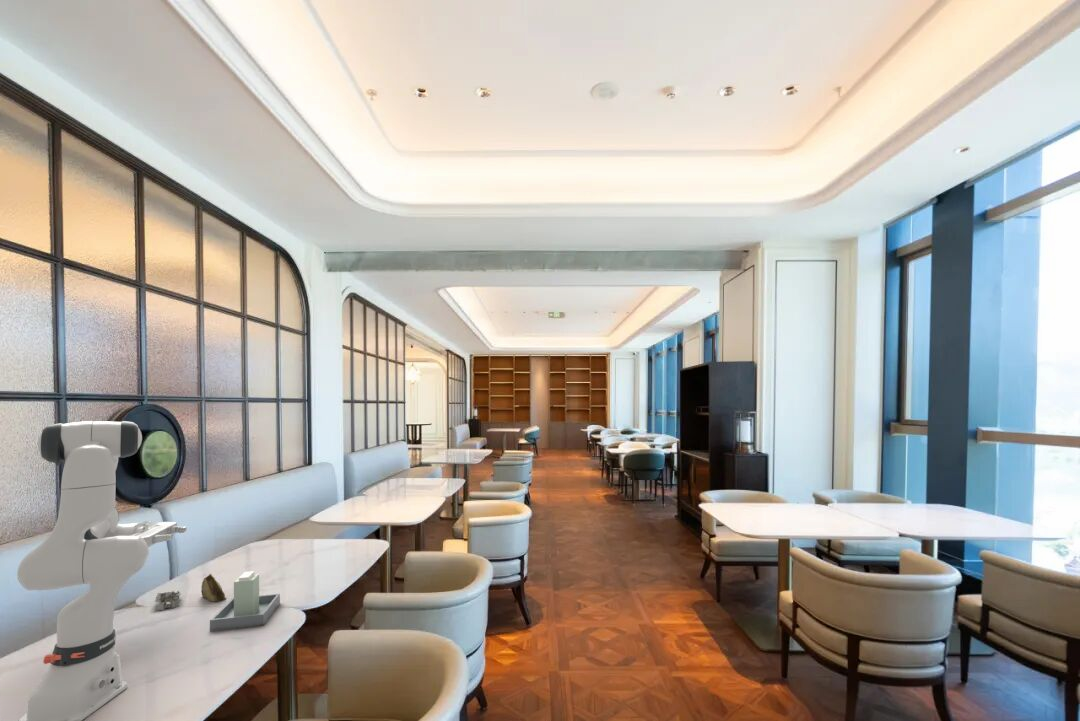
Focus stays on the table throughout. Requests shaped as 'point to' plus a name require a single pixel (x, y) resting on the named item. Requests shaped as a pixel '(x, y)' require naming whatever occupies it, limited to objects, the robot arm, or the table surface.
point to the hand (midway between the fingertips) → (178, 533)
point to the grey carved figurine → (167, 600)
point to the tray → (228, 621)
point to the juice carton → (246, 594)
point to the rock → (212, 589)
